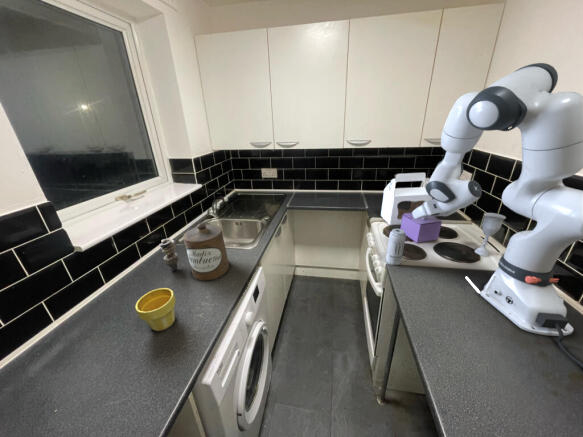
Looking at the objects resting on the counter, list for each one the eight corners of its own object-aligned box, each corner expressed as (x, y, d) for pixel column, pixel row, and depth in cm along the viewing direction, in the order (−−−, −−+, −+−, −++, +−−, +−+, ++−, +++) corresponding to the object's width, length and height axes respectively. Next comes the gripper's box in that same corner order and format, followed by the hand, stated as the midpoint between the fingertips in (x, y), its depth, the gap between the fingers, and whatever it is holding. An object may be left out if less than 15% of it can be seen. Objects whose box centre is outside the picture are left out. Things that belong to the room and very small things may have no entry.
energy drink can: (389, 266, 96) (394, 235, 90) (383, 258, 101) (387, 228, 95) (403, 265, 96) (409, 234, 90) (396, 257, 102) (401, 227, 96)
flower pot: (140, 324, 73) (130, 300, 69) (172, 305, 80) (165, 283, 76) (151, 343, 67) (141, 318, 63) (186, 320, 74) (179, 297, 70)
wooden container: (187, 282, 91) (174, 233, 82) (199, 260, 105) (188, 216, 96) (225, 279, 92) (215, 230, 83) (231, 258, 106) (224, 214, 97)
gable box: (415, 214, 144) (424, 169, 132) (427, 223, 132) (438, 175, 120) (380, 215, 143) (386, 171, 132) (389, 224, 131) (396, 176, 120)
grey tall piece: (169, 267, 101) (160, 237, 95) (182, 265, 102) (174, 235, 96) (166, 275, 96) (156, 244, 90) (180, 272, 97) (171, 241, 91)
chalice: (485, 248, 106) (498, 212, 98) (495, 257, 99) (510, 219, 92) (468, 248, 106) (479, 212, 99) (477, 256, 100) (490, 219, 93)
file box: (437, 239, 115) (442, 220, 111) (416, 242, 113) (420, 223, 108) (419, 228, 126) (422, 211, 122) (399, 231, 124) (402, 213, 120)
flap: (442, 221, 111) (442, 220, 111) (420, 224, 109) (420, 223, 108) (431, 216, 117) (432, 216, 116) (411, 219, 114) (411, 219, 114)
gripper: (461, 197, 104) (438, 209, 117) (422, 201, 100) (403, 213, 113) (467, 209, 102) (443, 220, 115) (427, 214, 98) (408, 225, 111)
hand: (423, 217), depth 114 cm, fingers closed, pressing on flap
